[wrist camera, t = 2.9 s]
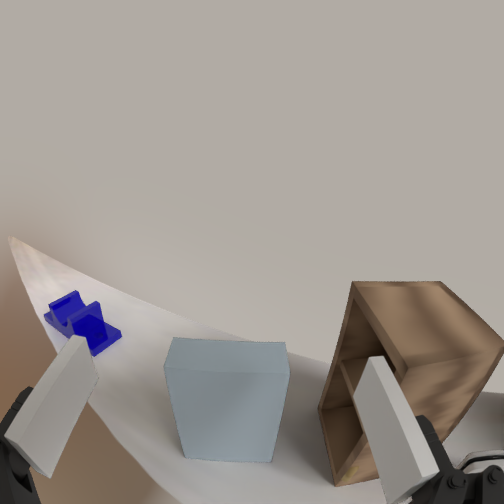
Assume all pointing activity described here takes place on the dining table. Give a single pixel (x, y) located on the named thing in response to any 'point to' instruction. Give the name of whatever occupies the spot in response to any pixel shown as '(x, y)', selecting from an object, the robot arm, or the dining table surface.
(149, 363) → the dining table surface
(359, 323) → the cabinet
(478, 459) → the white rounded housing
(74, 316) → the mounting bracket
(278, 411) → the upright grey-blue slab
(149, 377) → the dining table surface
